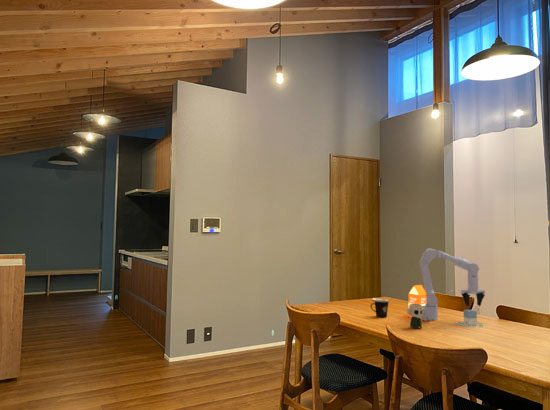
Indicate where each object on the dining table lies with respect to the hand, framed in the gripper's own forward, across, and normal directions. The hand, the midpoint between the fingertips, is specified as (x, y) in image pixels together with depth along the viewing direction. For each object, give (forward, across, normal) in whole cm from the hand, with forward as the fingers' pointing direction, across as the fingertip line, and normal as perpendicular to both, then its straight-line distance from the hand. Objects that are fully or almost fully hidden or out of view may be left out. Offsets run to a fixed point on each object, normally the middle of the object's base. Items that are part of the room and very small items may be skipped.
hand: (473, 305), depth 249 cm
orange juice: (+11, -25, +21) cm, 34 cm away
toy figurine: (+11, -42, -11) cm, 45 cm away
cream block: (+9, -7, -8) cm, 14 cm away
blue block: (+5, -7, -8) cm, 12 cm away
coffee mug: (+11, -51, +21) cm, 56 cm away
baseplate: (+10, -7, -8) cm, 15 cm away
